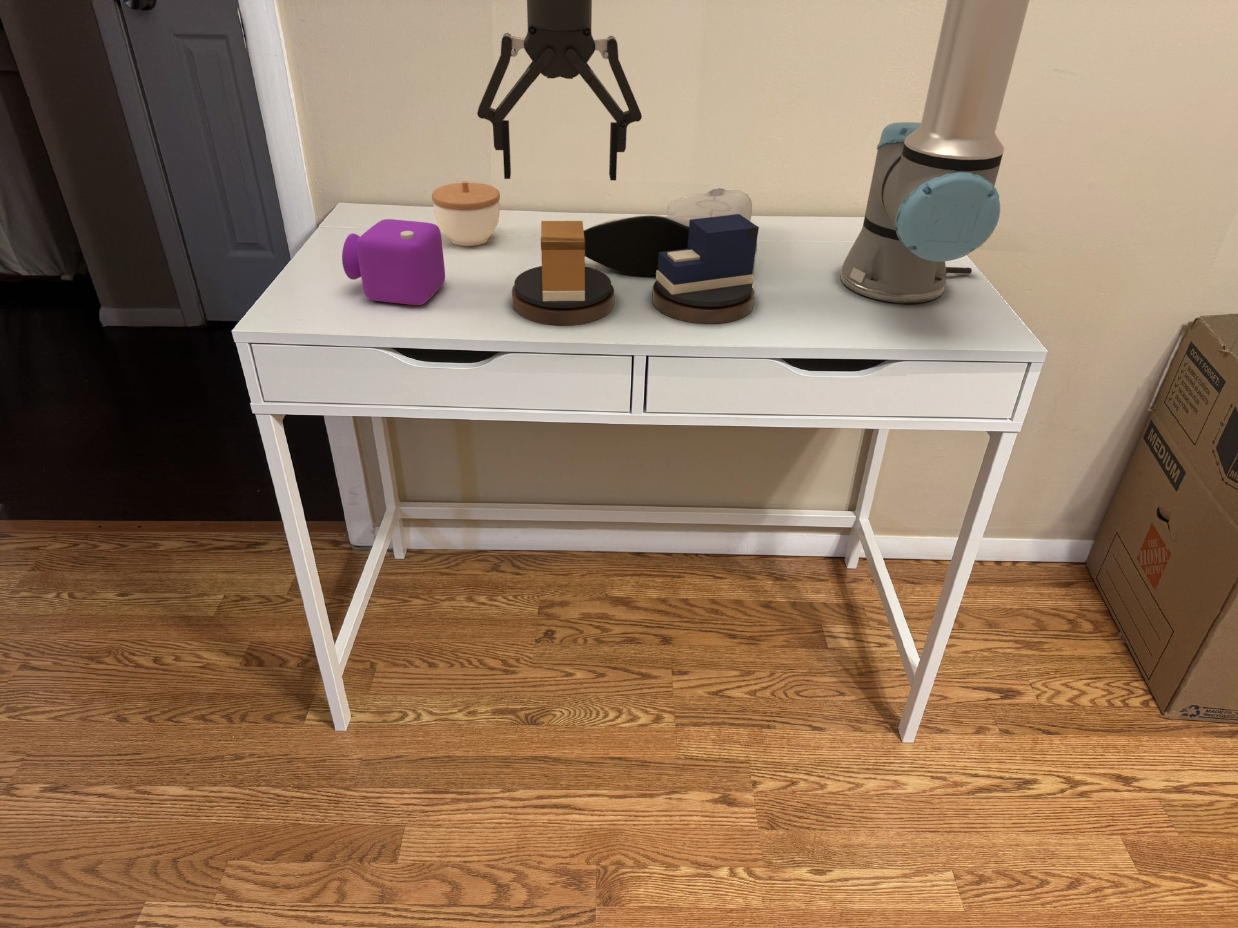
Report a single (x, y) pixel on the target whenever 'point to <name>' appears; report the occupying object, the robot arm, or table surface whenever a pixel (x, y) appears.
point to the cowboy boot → (658, 231)
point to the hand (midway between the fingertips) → (560, 177)
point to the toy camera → (396, 261)
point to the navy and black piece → (711, 263)
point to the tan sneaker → (562, 270)
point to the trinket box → (467, 212)
